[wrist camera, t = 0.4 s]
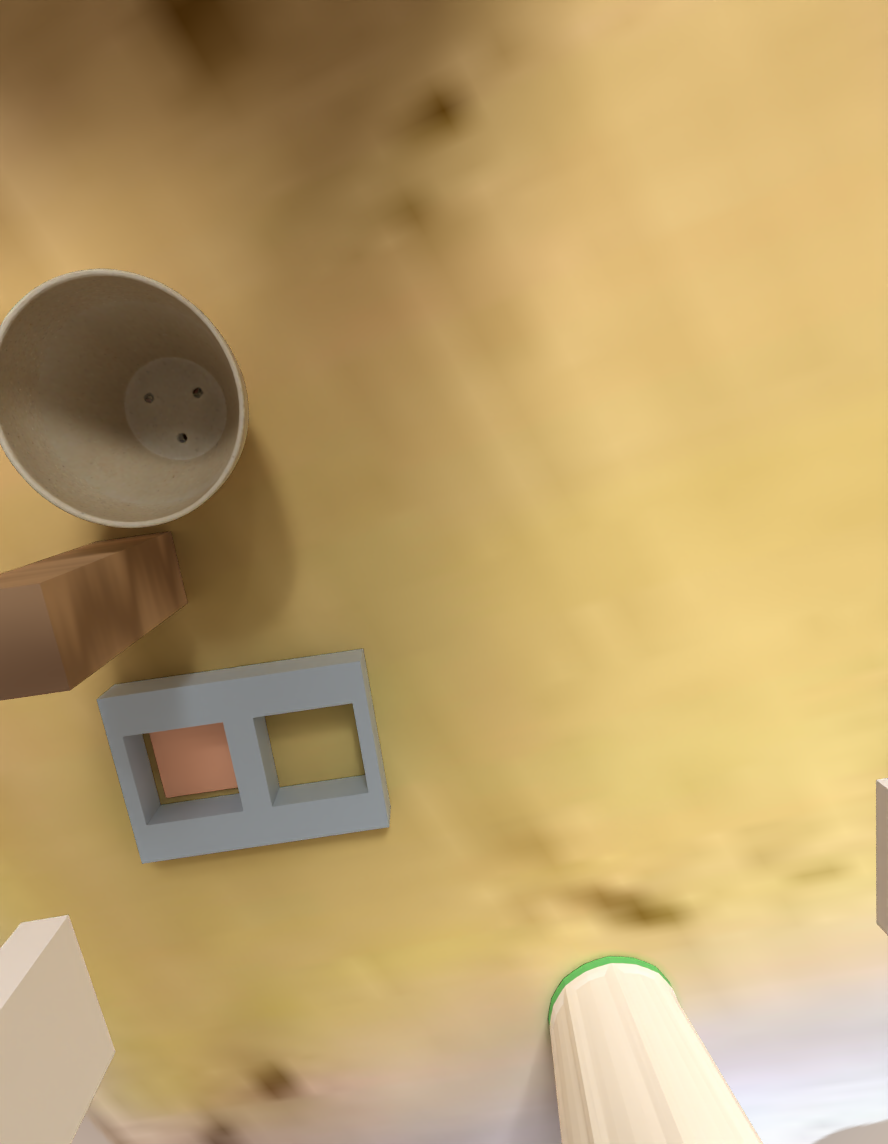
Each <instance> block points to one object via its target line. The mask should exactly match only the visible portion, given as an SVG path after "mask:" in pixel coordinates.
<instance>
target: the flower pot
mask: <svg viewBox="0 0 888 1144" xmlns="http://www.w3.org/2000/svg"><path fill="white" fill-rule="evenodd" d="M197 388H198V392H197V393H193V392H194V390H195V389H197ZM146 399H150V400H151V401H152V402H147V401H146ZM248 422H249V405H248V396H247V390H246V386H245V382H244V379H243V376H242V373H241V370H240V368H239V365H238V363H237V361H236V359H235V357H234V355H233V353H232V351H231V349H230V347H229V346H228V344H227V343H226V341H225V340H224V338H223V337H222V335H221V334H220V332H219V331H218V330H217V329H216V327H215V326H214V325H213V324H212V323H211V321H210V320H209V319H208V318H207V317H206V316H205V315H204V314H203V313H202V312H201V311H200V310H199V309H198V308H197V307H196V306H195V305H193V304H192V303H191V302H190V301H189V300H187V299H186V298H185V297H183V296H182V295H180V294H179V293H178V292H176V291H174V290H173V289H171V288H169V287H168V286H166V285H164V284H162V283H160V282H158V281H155V280H153V279H151V278H148V277H145V276H142V275H139V274H136V273H132V272H127V271H121V270H114V269H89V270H81V271H76V272H71V273H67V274H64V275H61V276H58V277H55V278H53V279H51V280H48V281H46V282H44V283H43V284H41V285H39V286H38V287H36V288H34V289H33V290H31V291H30V292H29V293H28V294H26V295H25V296H24V297H23V298H22V299H21V300H20V301H19V302H18V303H17V304H16V305H15V306H14V307H13V308H12V309H11V310H10V312H9V313H8V314H7V316H6V317H5V319H4V320H3V322H2V324H1V325H0V445H1V447H2V448H3V450H4V452H5V454H6V456H7V457H8V459H9V460H10V462H11V463H12V465H13V466H14V467H15V469H16V470H17V472H18V473H19V474H20V475H21V476H22V477H23V478H24V479H25V481H26V482H27V483H28V484H29V485H30V486H31V487H32V488H33V489H34V490H35V491H37V492H38V493H39V494H40V495H41V496H42V497H44V498H45V499H47V500H48V501H49V502H51V503H52V504H54V505H55V506H57V507H59V508H60V509H62V510H64V511H65V512H67V513H69V514H72V515H74V516H76V517H79V518H81V519H83V520H86V521H89V522H93V523H96V524H100V525H105V526H111V527H119V528H142V527H149V526H155V525H160V524H163V523H167V522H170V521H173V520H175V519H178V518H180V517H182V516H184V515H186V514H188V513H190V512H192V511H193V510H195V509H196V508H198V507H199V506H200V505H202V504H203V503H204V502H205V501H207V500H208V499H209V498H210V497H211V496H212V495H213V494H214V493H216V491H217V490H218V489H219V488H220V487H221V486H222V485H223V484H224V482H225V481H226V480H227V479H228V477H229V476H230V474H231V473H232V471H233V469H234V468H235V466H236V464H237V462H238V460H239V458H240V456H241V453H242V450H243V448H244V444H245V441H246V437H247V432H248ZM184 434H185V435H186V436H187V440H185V439H184V437H183V436H184Z"/></svg>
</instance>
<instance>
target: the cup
mask: <svg viewBox="0 0 888 1144" xmlns="http://www.w3.org/2000/svg"><path fill="white" fill-rule="evenodd" d="M548 1021H549V1025H550V1035H551V1045H552V1054H553V1064H554V1073H555V1082H556V1092H557V1101H558V1111H559V1120H560V1130H561V1139H562V1144H763V1143H762V1141H761V1139H760V1138H759V1136H758V1134H757V1133H756V1131H755V1129H754V1128H753V1126H752V1124H751V1123H750V1121H749V1119H748V1118H747V1116H746V1114H745V1113H744V1111H743V1109H742V1108H741V1106H740V1104H739V1103H738V1101H737V1099H736V1098H735V1096H734V1094H733V1093H732V1091H731V1089H730V1088H729V1086H728V1084H727V1083H726V1081H725V1079H724V1078H723V1076H722V1074H721V1073H720V1071H719V1069H718V1068H717V1066H716V1064H715V1063H714V1061H713V1059H712V1058H711V1056H710V1054H709V1053H708V1051H707V1049H706V1048H705V1046H704V1044H703V1043H702V1041H701V1039H700V1038H699V1036H698V1034H697V1033H696V1031H695V1029H694V1028H693V1026H692V1024H691V1023H690V1021H689V1019H688V1017H687V1016H686V1014H685V1012H684V1011H683V1009H682V1007H681V1006H680V1004H679V1002H678V1000H677V997H676V995H675V993H674V990H673V989H672V987H671V984H670V982H669V981H668V980H667V979H666V977H665V976H664V975H663V974H662V973H661V972H660V971H659V970H658V969H657V968H656V967H655V966H653V965H651V964H649V963H646V962H644V961H641V960H638V959H635V958H630V957H611V956H608V957H604V958H601V959H598V960H594V961H592V962H589V963H586V964H584V965H582V966H581V967H579V968H578V969H576V970H575V971H573V972H572V973H570V974H569V975H568V976H567V977H565V978H564V979H563V980H562V982H561V983H560V985H559V986H558V988H557V990H556V991H555V993H554V995H553V997H552V999H551V1004H550V1008H549V1017H548Z"/></svg>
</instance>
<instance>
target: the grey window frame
mask: <svg viewBox="0 0 888 1144" xmlns="http://www.w3.org/2000/svg"><path fill="white" fill-rule="evenodd" d="M97 702H98V706H99V710H100V713H101V717H102V720H103V724H104V728H105V731H106V735H107V738H108V742H109V746H110V749H111V753H112V757H113V760H114V764H115V767H116V771H117V775H118V778H119V782H120V786H121V789H122V793H123V796H124V800H125V804H126V807H127V811H128V815H129V818H130V822H131V825H132V829H133V833H134V836H135V840H136V844H137V847H138V851H139V854H140V858H141V862H142V864H143V863H150V862H157V861H164V860H170V859H177V858H184V857H191V856H197V855H204V854H211V853H218V852H224V851H231V850H238V849H245V848H251V847H258V846H265V845H272V844H278V843H285V842H292V841H299V840H305V839H312V838H319V837H326V836H332V835H339V834H346V833H353V832H359V831H366V830H373V829H380V828H386V827H389V824H390V809H391V806H390V800H389V794H388V788H387V783H386V777H385V771H384V765H383V760H382V754H381V748H380V742H379V736H378V731H377V725H376V719H375V713H374V708H373V702H372V696H371V690H370V685H369V679H368V673H367V667H366V662H365V656H364V650H363V649H357V650H350V651H343V652H336V653H329V654H322V655H316V656H309V657H302V658H295V659H288V660H281V661H274V662H267V663H260V664H253V665H246V666H239V667H232V668H225V669H219V670H212V671H205V672H198V673H191V674H184V675H177V676H170V677H163V678H156V679H149V680H142V681H135V682H129V683H122V684H115V685H113V686H112V687H111V688H110V689H108V690H107V691H106V692H105V693H104V694H102V695H101V696H100V697H99V698H98V699H97ZM351 703H352V704H353V709H354V715H355V720H356V726H357V731H358V737H359V742H360V748H361V753H362V759H363V764H364V770H365V775H360V776H354V777H347V778H340V779H333V780H326V781H320V782H313V783H306V784H299V785H292V786H286V787H280V786H279V781H278V777H277V772H276V767H275V763H274V758H273V754H272V749H271V744H270V740H269V735H268V730H267V726H266V721H265V716H269V715H276V714H282V713H289V712H296V711H303V710H310V709H317V708H324V707H331V706H337V705H344V704H351ZM145 733H149V734H150V738H151V742H152V746H153V750H154V754H155V757H156V761H157V765H158V769H159V773H160V777H161V781H162V784H163V788H164V792H165V796H166V798H169V797H176V796H182V795H189V794H196V793H203V792H210V791H217V790H223V789H230V788H237V787H238V790H239V793H238V794H231V795H224V796H218V797H211V798H204V799H197V800H190V801H184V802H177V803H170V804H163V805H161V804H160V800H159V796H158V792H157V789H156V785H155V781H154V777H153V773H152V769H151V766H150V762H149V758H148V754H147V750H146V747H145V743H144V739H143V735H142V734H145Z"/></svg>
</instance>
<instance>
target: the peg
mask: <svg viewBox="0 0 888 1144" xmlns="http://www.w3.org/2000/svg"><path fill="white" fill-rule="evenodd" d="M187 603H188V602H187V598H186V594H185V589H184V585H183V581H182V576H181V572H180V568H179V564H178V559H177V555H176V551H175V547H174V542H173V538H172V534H171V531H169V532H162V533H154V534H147V535H140V536H133V537H126V538H119V539H112V540H105V541H98V542H94V543H91V544H88V545H85V546H82V547H79V548H76V549H73V550H70V551H67V552H64V553H61V554H58V555H55V556H52V557H49V558H46V559H43V560H40V561H37V562H34V563H32V564H29V565H26V566H23V567H20V568H17V569H14V570H11V571H8V572H5V573H2V574H0V700H7V699H14V698H21V697H28V696H35V695H42V694H48V693H55V692H62V691H69V690H71V689H73V688H74V687H75V686H77V685H78V684H79V683H81V682H82V681H83V680H85V679H86V678H88V677H89V676H90V675H92V674H93V673H94V672H96V671H97V670H98V669H100V668H101V667H102V666H104V665H105V664H106V663H108V662H109V661H110V660H112V659H113V658H114V657H116V656H117V655H119V654H120V653H121V652H123V651H124V650H125V649H127V648H128V647H129V646H131V645H132V644H133V643H135V642H136V641H137V640H139V639H140V638H141V637H143V636H144V635H145V634H147V633H148V632H149V631H151V630H152V629H154V628H155V627H156V626H158V625H159V624H160V623H162V622H163V621H164V620H166V619H167V618H168V617H170V616H171V615H172V614H174V613H175V612H176V611H178V610H179V609H180V608H182V607H183V606H184V605H186V604H187Z"/></svg>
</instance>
